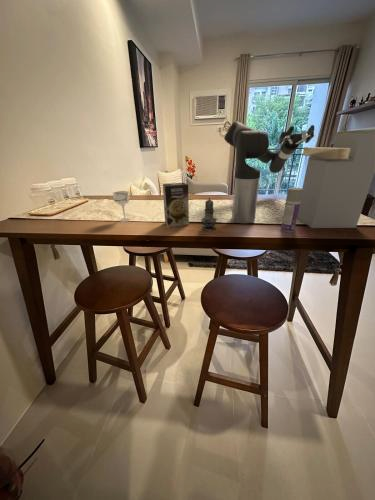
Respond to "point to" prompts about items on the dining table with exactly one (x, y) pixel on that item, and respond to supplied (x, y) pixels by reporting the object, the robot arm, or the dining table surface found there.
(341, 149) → the wooden bar
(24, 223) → the dining table surface
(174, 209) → the coffee box
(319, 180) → the stepped stand
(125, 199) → the wineglass
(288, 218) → the container
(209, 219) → the grey tall carved piece
